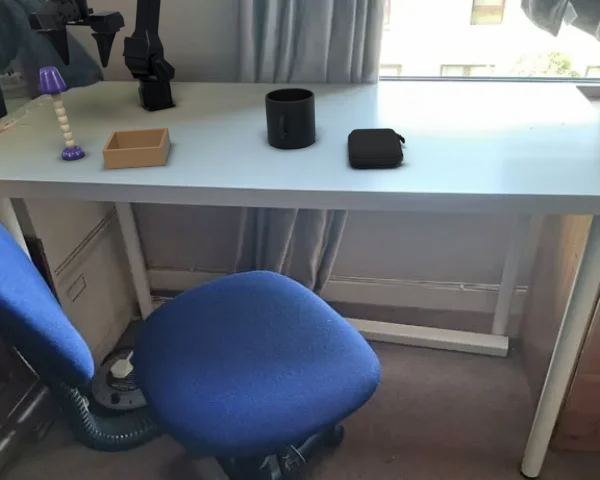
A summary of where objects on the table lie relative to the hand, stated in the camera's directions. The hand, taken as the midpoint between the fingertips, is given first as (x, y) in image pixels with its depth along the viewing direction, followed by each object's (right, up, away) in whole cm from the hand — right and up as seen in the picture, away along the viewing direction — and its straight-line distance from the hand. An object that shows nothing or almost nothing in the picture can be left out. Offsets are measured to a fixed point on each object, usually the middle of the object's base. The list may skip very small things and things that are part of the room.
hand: (86, 66), depth 127 cm
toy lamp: (-1, -20, -6) cm, 21 cm away
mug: (+42, -17, -4) cm, 45 cm away
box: (+13, -20, -7) cm, 25 cm away
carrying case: (+58, -21, -11) cm, 62 cm away
